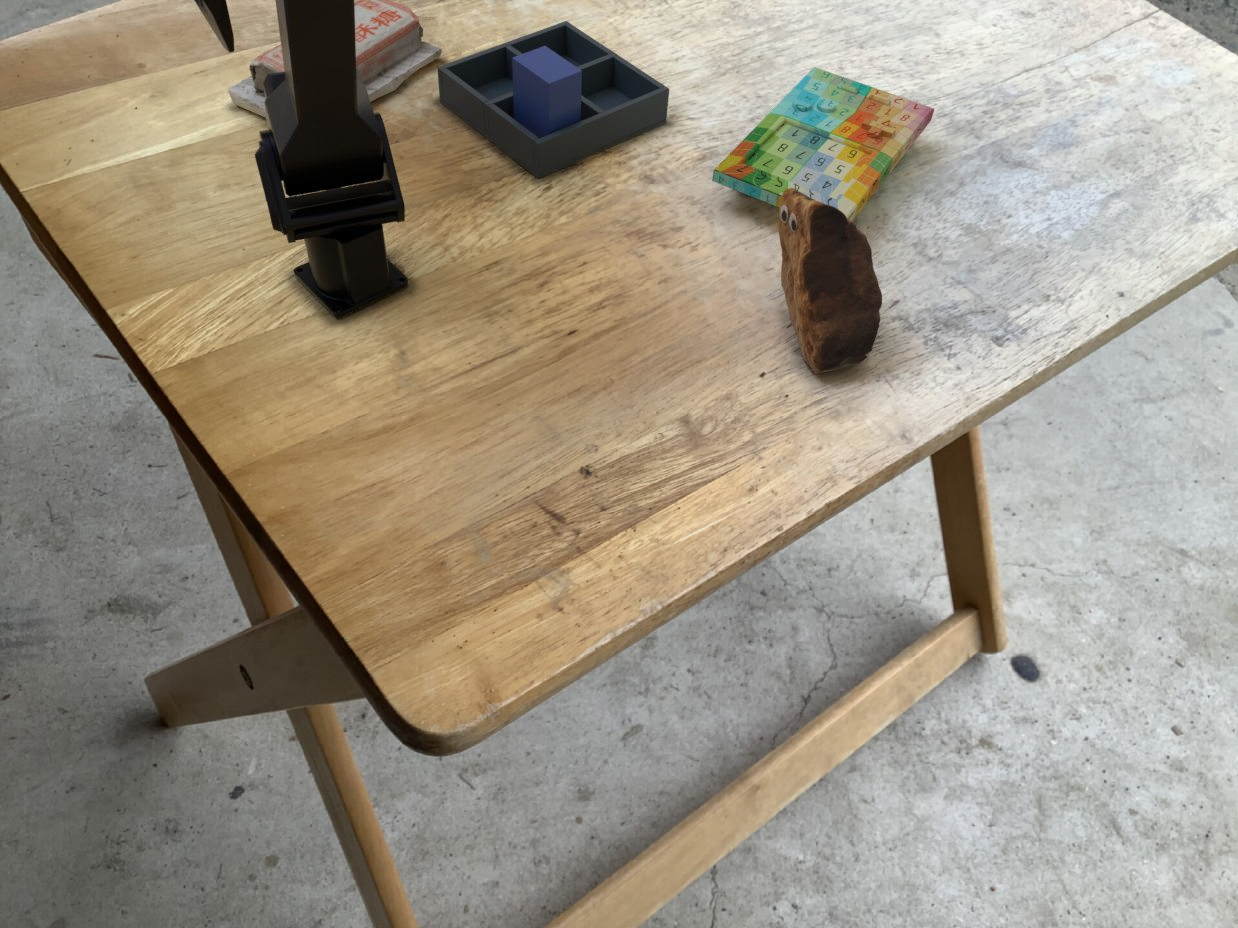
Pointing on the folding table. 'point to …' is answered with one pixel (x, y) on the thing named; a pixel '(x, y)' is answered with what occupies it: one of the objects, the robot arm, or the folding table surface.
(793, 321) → the decorative rock
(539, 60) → the carton
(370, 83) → the packaged product
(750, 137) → the puzzle game
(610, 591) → the folding table surface
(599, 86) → the organiser
